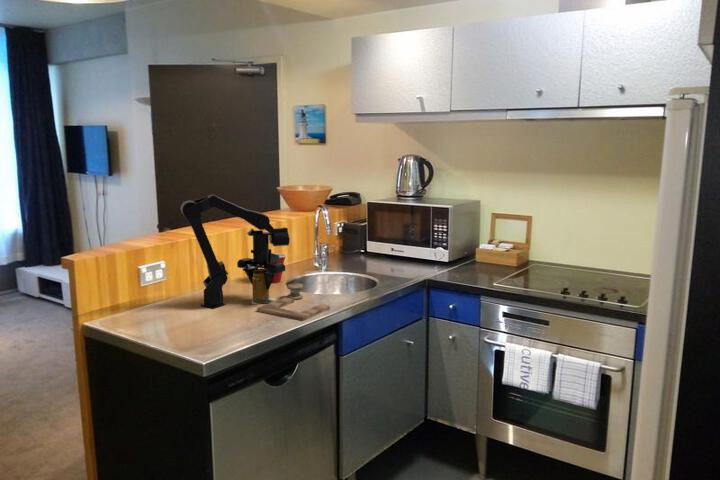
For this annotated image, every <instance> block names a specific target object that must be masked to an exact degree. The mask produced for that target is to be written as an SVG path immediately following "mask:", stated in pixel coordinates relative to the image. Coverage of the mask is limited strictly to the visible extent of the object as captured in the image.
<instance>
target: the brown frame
mask: <svg viewBox="0 0 720 480" xmlns="http://www.w3.org/2000/svg"><path fill="white" fill-rule="evenodd" d="M294 301H295V300H294V299H290V298H287V297H283V298H280V299H277V300H275V302H272V303H265V304H264V305H261V306H258V307H257V308H256V311H257V312H260V313H264V314H268V315H275V316H277V317H284V318H288V319H294V320H298V321H306V320H308V319H311V318H313V317H315V316H317V315H319V314H321V313H324V312H326V311H329V310H330V305H328V304H321V303H319V304H318V305H315V306H312V307H310V308H308V309H306V310H302V311H301V312H300V311H296V310H291V309H285V308H283V307H285V306H288V305H291V304H293V303H294Z"/></svg>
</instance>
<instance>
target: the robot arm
mask: <svg viewBox="0 0 720 480" xmlns="http://www.w3.org/2000/svg"><path fill="white" fill-rule="evenodd" d="M212 208H216V209H219V210H221V211H224V212H226V213H228V214H230V215H233V216H235V217H237V218H240V219H242V220H244V221H245V222H247V223H248V224H250V225H251V226H253V227H254V228H256V229H257V230H255V229H253V228H250V229H249V231H248V232H247V235H248V236H249V237H252V249H251V250H250V254H252V258H250V257H249V258H248V257H245V258H241V259H238V261H237V262H236V264H237V265H236V267H237V268H240V269H242V271H244V273H245V274H246V276H247V277H248V279H249V281H250V283H251V284H252V278H253V271H254V270H255V269H267V272H265V273H264V278H265V284H266V289H267V290H268V289H269V290H270V288H271V285H272V284H273V283H272V280H273V277H274V275H275V274H277V273H280V272H282V273H284V272H286V265H285V263H284V264H283V263H278V260H279V255H276V254H273V253H274V252H272V249H271V248H269V247H270V246H269V245H270V244H271V245H272V247H286V246H287V247H288V246H289V245H290V240H291V239H290V238H291V237H290V235H289V231H288V230H289V229H288V227H286V226H285V227H281V228H278V227H277V228H275V227H274V226H273V225H272V224H271V223H270V222H271V220H270V218H269V216H267V214H264V213H263V212H259V211H255V210H252V209H247V208H245V207H242V206H239V205H237V204H235V203H232V202H230V201H228V200H225V199H223V198H221V197H219V196H217V195H215V194H209V195H207V196H205V197H201V198H198V199H195V200H189V199H188V200H185V201H183V202H182V203H181V205H180V212H181V214H182V215H183V216H184V218H185V219H186V221H187V222H188V224H189V225H190V227H191V228H192V231H193V233H194V236H195V238H196V241H197V243H198V245H199V248H200V250H201V253H202V255H203V258H204V260H205V262H206V269H207V274H208V276H207V277H206V278H205V279H204V280H203V281H202V284H203V285H204V287H205V288H204V289H203V303H202V304H200V307H205V308H210V309H216V308H219V307H222V306H225V305H226V302H224V293H223V292H224V291H223V287H224V285H225V284H226V283H227V281H228V275H229V272H228V271H227V270H226V265H225V264H224V262H223V261H222V260H220V261H218V259H217V256H216V254H215V251H214V249H213V247H212V245H211V242H210V240H209V238H208V235H207V233H206V230H205V228H204V226H203V222H202V215H201V213H203V212H205V211H208V210H210V209H212ZM264 231H267V232H264ZM273 262H275V263H273ZM269 263H273V264H269Z"/></svg>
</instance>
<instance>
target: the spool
mask: <svg viewBox="0 0 720 480" xmlns="http://www.w3.org/2000/svg"><path fill="white" fill-rule="evenodd" d="M286 289H288V290H290V291H289V292H290V293H289V294H287V295H286V296H287V297H286V298H290V299H294V301H300V300H303V299H304V295H303V294H302V293H301V290H302V289H304V284H302V283H297V282H295V283H288V284H287V285H286Z"/></svg>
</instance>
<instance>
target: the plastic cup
mask: <svg viewBox="0 0 720 480" xmlns="http://www.w3.org/2000/svg"><path fill="white" fill-rule="evenodd" d="M272 253H273V254H276V255H279V260H278V263H283V264H284V265H285V259H286V257H287V254H285V253H277V252H276V253H275V252H272ZM273 263H275V262H273ZM273 263H269V264H273ZM266 270H267V269H266ZM282 274H283V272H280V273H277V274H275V275H274V277H273V280H272V283H271V284H278V283H280V282H281V280H282Z"/></svg>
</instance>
